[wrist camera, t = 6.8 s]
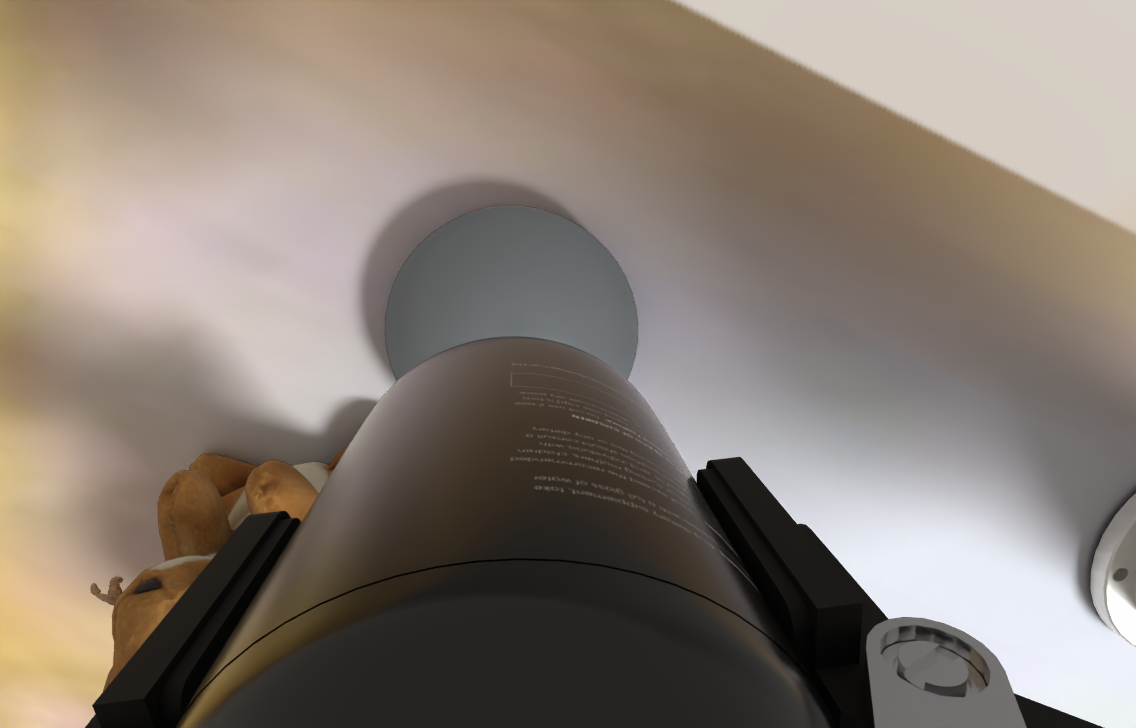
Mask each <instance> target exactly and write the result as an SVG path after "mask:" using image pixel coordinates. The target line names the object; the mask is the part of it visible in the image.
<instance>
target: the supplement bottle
mask: <svg viewBox="0 0 1136 728" xmlns="http://www.w3.org/2000/svg"><path fill="white" fill-rule="evenodd" d="M174 728H838V727H837V725H836V723H835V721H834V718H833V716H832V714H831V713H830V711H829V709H828V707H827V705H826V703H825V701H824V699H823V697H822V695H821V694H820V692H819V690H818V688H817V687H816V685H815V683H814V681H813V680H812V678H811V676H810V674H809V673H808V671H807V669H806V668H805V666H804V664H803V663H802V661H801V659H800V657H799V656H798V654H797V652H796V651H795V649H794V647H793V646H792V644H791V642H790V640H789V639H788V637H787V635H786V634H785V632H784V630H783V629H782V627H781V625H780V623H779V622H778V620H777V618H776V617H775V615H774V613H773V612H772V610H771V608H770V607H769V605H768V603H767V601H766V600H765V598H764V596H763V595H762V593H761V591H760V590H759V588H758V586H757V585H756V583H755V581H754V579H753V578H752V576H751V574H750V573H749V571H748V569H747V568H746V566H745V564H744V563H743V561H742V559H741V557H740V556H739V554H738V552H737V551H736V549H735V547H734V546H733V544H732V542H731V540H730V539H729V537H728V535H727V534H726V532H725V530H724V529H723V527H722V525H721V524H720V522H719V520H718V518H717V517H716V515H715V513H714V512H713V510H712V508H711V507H710V505H709V503H708V502H707V500H706V498H705V496H704V495H703V493H702V491H701V490H700V488H699V486H698V485H697V483H696V481H695V480H694V478H693V476H692V474H691V473H690V471H689V469H688V468H687V466H686V464H685V463H684V461H683V459H682V457H681V456H680V454H679V452H678V451H677V449H676V447H675V446H674V444H673V442H672V441H671V439H670V437H669V435H668V434H667V432H666V430H665V429H664V427H663V426H662V424H661V423H660V421H659V420H658V418H657V416H656V415H655V413H654V412H653V410H652V409H651V407H650V406H649V405H648V403H647V402H646V400H645V399H644V398H643V397H642V395H641V394H640V393H639V392H638V391H637V390H636V388H635V387H634V386H633V385H632V384H631V383H630V382H629V381H628V380H627V379H626V378H624V377H623V376H622V375H621V374H620V373H619V372H617V371H616V370H615V369H613V368H612V367H611V366H610V365H608V364H606V363H605V362H603V361H602V360H600V359H598V358H597V357H595V356H593V355H591V354H589V353H587V352H585V351H583V350H580V349H578V348H575V347H572V346H570V345H567V344H563V343H560V342H556V341H552V340H547V339H541V338H535V337H522V336H506V337H493V338H485V339H480V340H476V341H471V342H467V343H464V344H461V345H457V346H454V347H451V348H449V349H447V350H444V351H442V352H440V353H438V354H435V355H434V356H432V357H430V358H428V359H426V360H425V361H423V362H421V363H420V364H418V365H417V366H415V367H414V368H413V369H411V370H410V371H408V372H407V373H406V374H405V375H404V376H402V377H401V378H400V379H399V380H398V381H397V382H396V383H395V384H394V385H393V386H392V387H391V388H390V389H389V390H388V391H387V392H386V393H385V394H384V395H383V396H382V398H381V399H380V400H379V401H378V403H377V404H376V405H375V407H374V408H373V409H372V411H371V412H370V414H369V415H368V417H367V418H366V420H365V421H364V423H363V424H362V425H361V427H360V428H359V430H358V432H357V433H356V435H355V436H354V438H353V440H352V441H351V443H350V444H349V446H348V448H347V449H346V451H345V453H344V454H343V456H342V457H341V459H340V461H339V462H338V464H337V465H336V467H335V469H334V470H333V472H332V473H331V475H330V477H329V478H328V480H327V481H326V483H325V485H324V486H323V488H322V489H321V491H320V493H319V494H318V496H317V498H316V499H315V501H314V502H313V504H312V506H311V507H310V509H309V510H308V512H307V514H306V515H305V517H304V518H303V520H302V522H301V523H300V525H299V526H298V528H297V530H296V531H295V533H294V534H293V536H292V538H291V539H290V541H289V543H288V544H287V546H286V547H285V549H284V551H283V552H282V554H281V555H280V557H279V559H278V560H277V562H276V563H275V565H274V567H273V568H272V570H271V571H270V573H269V575H268V576H267V578H266V579H265V581H264V583H263V584H262V586H261V588H260V589H259V591H258V592H257V594H256V596H255V597H254V599H253V600H252V602H251V604H250V605H249V607H248V608H247V610H246V612H245V613H244V615H243V616H242V618H241V620H240V621H239V623H238V624H237V626H236V628H235V629H234V631H233V633H232V634H231V636H230V637H229V639H228V641H227V642H226V644H225V645H224V647H223V649H222V650H221V652H220V653H219V655H218V657H217V658H216V660H215V662H214V663H213V665H212V666H211V668H210V670H209V671H208V673H207V674H206V676H205V678H204V679H203V681H202V682H201V684H200V686H199V687H198V689H197V691H196V692H195V694H194V695H193V697H192V699H191V700H190V702H189V704H188V705H187V707H186V709H185V710H184V712H183V714H182V715H181V717H180V719H179V720H178V722H177V724H176V725H175V727H174Z"/></svg>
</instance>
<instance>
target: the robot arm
mask: <svg viewBox="0 0 1136 728" xmlns="http://www.w3.org/2000/svg"><path fill="white" fill-rule="evenodd" d="M697 485H698V486H699V488H700V490H701V491H702V493H703V495H704V496H705V498H706V500H707V502H708V503H709V505H710V507H711V508H712V510H713V512H714V513H715V515H716V517H717V518H718V520H719V522H720V524H721V525H722V527H723V529H724V530H725V532H726V534H727V535H728V537H729V539H730V540H731V542H732V544H733V546H734V547H735V549H736V551H737V552H738V554H739V556H740V557H741V559H742V561H743V563H744V564H745V566H746V568H747V569H748V571H749V573H750V574H751V576H752V578H753V579H754V581H755V583H756V585H757V586H758V588H759V590H760V591H761V593H762V595H763V596H764V598H765V600H766V601H767V603H768V605H769V607H770V608H771V610H772V612H773V613H774V615H775V617H776V618H777V620H778V622H779V623H780V625H781V627H782V629H783V630H784V632H785V634H786V635H787V637H788V639H789V640H790V642H791V644H792V646H793V647H794V649H795V651H796V652H797V654H798V656H799V657H800V659H801V661H802V663H803V664H804V666H805V668H806V669H807V671H808V673H809V674H810V676H811V678H812V680H813V681H814V683H815V685H816V687H817V688H818V690H819V692H820V694H821V695H822V697H823V699H824V701H825V703H826V705H827V707H828V709H829V711H830V713H831V714H832V716H833V718H834V721H835V723H836V725H837V727H838V728H1103V727H1101V726H1098V725H1096V724H1093V723H1090V722H1088V721H1085V720H1082V719H1080V718H1077V717H1075V716H1072V715H1069V714H1067V713H1064V712H1061V711H1059V710H1056V709H1054V708H1051V707H1048V706H1046V705H1043V704H1040V703H1038V702H1035V701H1033V700H1030V699H1027V698H1025V697H1022V696H1019V695H1017V694H1014V693H1013V690H1012V688H1011V685H1010V683H1009V680H1008V677H1007V675H1006V672H1005V670H1004V668H1003V667H1002V665H1001V664H1000V662H999V660H998V659H997V657H996V656H995V655H994V654H993V653H992V652H991V651H990V650H989V649H988V648H987V647H986V646H985V645H983V644H982V643H981V642H979V641H978V640H976V639H975V638H973V637H972V636H970V635H968V634H967V633H965V632H963V631H961V630H959V629H956V628H954V627H952V626H949V625H947V624H944V623H941V622H937V621H933V620H929V619H924V618H912V617H901V618H894V619H888V618H887V617H886V616H885V614H884V613H883V612H882V611H881V610H880V609H879V607H878V606H877V605H876V604H875V603H874V602H873V601H872V599H871V598H870V597H869V596H868V595H867V594H866V592H865V591H864V590H863V589H862V588H861V587H860V585H859V584H858V583H857V582H856V581H855V580H854V579H853V577H852V576H851V575H850V574H849V573H848V572H847V570H846V569H845V568H844V567H843V566H842V565H841V563H840V562H839V561H838V560H837V559H836V558H835V557H834V555H833V554H832V553H831V552H830V551H829V550H828V548H827V547H826V546H825V545H824V544H823V543H822V541H821V540H820V539H819V538H818V537H817V536H816V535H815V533H814V532H813V531H812V530H811V529H810V528H809V527H808V526H806V525H805V524H797V523H796V522H795V521H794V520H793V519H792V518H791V516H790V515H789V514H788V513H787V512H786V510H785V509H784V508H783V507H782V506H781V504H780V503H779V502H778V501H777V500H776V498H775V497H774V496H773V495H772V494H771V492H770V491H769V490H768V489H767V488H766V486H765V485H764V484H763V483H762V482H761V480H760V479H759V478H758V477H757V476H756V474H755V473H754V472H753V471H752V470H751V468H750V467H749V466H748V465H747V464H746V462H745V461H744V460H743V459H742V458H741V457H735V458H727V459H718V460H710V461H708V462H707V466H706V469H702V470H698V472H697ZM300 523H301V521H300V519H298V518H291V517H290V515H289V514H288V512H286V511H278V512H269V513H261V514H252V515H249V516H247V517H246V518H245V519H244V521H243V522H242V523H241V524H240V526H239V527H238V528H237V529H236V530H235V532H234V533H233V534H232V535H231V537H230V538H229V539H228V540H227V541H226V543H225V544H224V545H223V546H222V548H221V549H220V550H219V551H218V552H217V554H216V555H215V556H214V557H213V559H212V560H211V561H210V562H209V563H208V565H207V566H206V567H205V568H204V570H203V571H202V572H201V573H200V574H199V576H198V577H197V578H196V579H195V581H194V582H193V583H192V584H191V585H190V587H189V588H188V589H187V590H186V592H185V593H184V594H183V595H182V596H181V598H180V599H179V600H178V601H177V603H176V604H175V605H174V606H173V607H172V609H171V610H170V611H169V612H168V614H167V615H166V616H165V617H164V618H163V620H162V621H161V622H160V623H159V625H158V626H157V627H156V628H155V629H154V631H153V632H152V633H151V634H150V636H149V637H148V638H147V639H146V640H145V642H144V643H143V644H142V645H141V647H140V648H139V649H138V650H137V651H136V653H135V654H134V655H133V656H132V658H131V659H130V660H129V661H128V662H127V664H126V665H125V666H124V667H123V669H122V670H121V671H120V672H119V673H118V675H117V676H116V677H115V678H114V680H113V681H112V682H111V683H110V684H109V686H108V687H107V688H106V689H105V691H104V692H103V693H102V694H101V695H100V697H99V698H98V699H97V700H96V702H95V703H94V704H93V705H92V706H93V708H94V711H95V713H96V714H95V716H94V717H93V718H92V720H91V721H90V722H89V723H88V725H87V726H86V727H85V728H174V727H175V725H176V724H177V722H178V720H179V719H180V717H181V715H182V714H183V712H184V710H185V709H186V707H187V705H188V704H189V702H190V700H191V699H192V697H193V695H194V694H195V692H196V691H197V689H198V687H199V686H200V684H201V682H202V681H203V679H204V678H205V676H206V674H207V673H208V671H209V670H210V668H211V666H212V665H213V663H214V662H215V660H216V658H217V657H218V655H219V653H220V652H221V650H222V649H223V647H224V645H225V644H226V642H227V641H228V639H229V637H230V636H231V634H232V633H233V631H234V629H235V628H236V626H237V624H238V623H239V621H240V620H241V618H242V616H243V615H244V613H245V612H246V610H247V608H248V607H249V605H250V604H251V602H252V600H253V599H254V597H255V596H256V594H257V592H258V591H259V589H260V588H261V586H262V584H263V583H264V581H265V579H266V578H267V576H268V575H269V573H270V571H271V570H272V568H273V567H274V565H275V563H276V562H277V560H278V559H279V557H280V555H281V554H282V552H283V551H284V549H285V547H286V546H287V544H288V543H289V541H290V539H291V538H292V536H293V534H294V533H295V531H296V530H297V528H298V526H299V525H300ZM1091 594H1092V598H1093V603H1094V606H1095V608H1096V610H1097V612H1098V614H1099V616H1100V618H1101V619H1102V620H1103V621H1104V622H1105V624H1106V625H1107V626H1108V627H1109V628H1110V629H1111V630H1112V631H1114V632H1115V633H1116V634H1118V635H1119V636H1121V637H1122V638H1123V639H1125V640H1126V641H1127V642H1129V643H1130V644H1132V645H1134V646H1136V493H1135V494H1134V495H1133V496H1132V497H1131V498H1130V499H1129V500H1128V501H1127V502H1126V503H1125V504H1124V505H1123V507H1122V508H1121V509H1120V510H1119V511H1118V512H1117V513H1116V515H1115V516H1114V518H1113V519H1112V521H1111V522H1110V524H1109V525H1108V527H1107V528H1106V530H1105V532H1104V533H1103V535H1102V538H1101V540H1100V542H1099V545H1098V547H1097V549H1096V551H1095V555H1094V560H1093V564H1092V568H1091Z"/></svg>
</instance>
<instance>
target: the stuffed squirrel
mask: <svg viewBox="0 0 1136 728" xmlns="http://www.w3.org/2000/svg"><path fill="white" fill-rule="evenodd" d="M348 446H349V444H348V445H347V446H346V447H345V448H344V449H343V451H342V452H341V453H340V454H339V455H337V456H336V458H335V459H334V460H333V461H332V462H331V463H330V465H327V464H324V463H319V462H308V463H303V464H297V465H293V466H291V465H289V464H287V463H284V462H282V461H279V460H270V461H266V462H264V463H263V464H262V465H260V466H255V465H252V464H248V463H244V462H242V461H240V460H235V459H231V458H228V457H224V456H220V455H214V454H211V453H204V454H202V455H201V456H200V457H198V458H197V460H196V461H195V462H194V463H192V464H191V465H190V467H189V471H186V470H182V471H179V472H177V473H175V474H174V475H173V476H172V477H171V478H170V479H169V480H168V482H167V483H166V485H165V486H164V488H163V490H162V492H161V495H160V497H159V501H158V524H159V532H160V536H161V540H162V546H163V551H164V555H165V560H166V561H165V562H163V563H160V564H158V565H156V566H154V567H152V568H150V569H147V570H144V571H143V572H142V573H141V574H140V575H139V576H138V577H137V578H136V579H135V580H134V581H133V582H132V583H131V584H130V585H129V586H128V587H127V588H126V590H125V591H124V592H122V589H121V588H120V586H119V583H121V582H122V581H123V579H122V578H121V577H114V578H112V579H111V581H110V585H109V587H110V588H109V591H108V595H106V594H100V592H101V590H100V589H99V588H98V587H97V585H96V584H95V583H93V584H92V585H91V589H90V590H91V593H92V594H93V595H95V596H96V597H98V598H99V599H101V600H102V601H105V602H107V603H109V604H110V605H114V609H113V614H112V635H113V639H114V658H113V667H112V669H111V670H110V672H109V674H108V677H107V680H106V683H105V686H104V690H103V692H104V691H105V689H106V688H107V687H108V686H109V684H110V683H111V682H112V681H113V680H114V678H115V677H116V676H117V675H118V673H119V672H120V671H121V670H122V669H123V667H124V666H125V665H126V664H127V662H128V661H129V660H130V659H131V658H132V656H133V655H134V654H135V653H136V651H137V650H138V649H139V648H140V647H141V645H142V644H143V643H144V642H145V640H146V639H147V638H148V637H149V636H150V634H151V633H152V632H153V631H154V629H155V628H156V627H157V626H158V625H159V623H160V622H161V621H162V620H163V618H164V617H165V616H166V615H167V614H168V612H169V611H170V610H171V609H172V607H173V606H174V605H175V604H176V603H177V601H178V600H179V599H180V598H181V596H182V595H183V594H184V593H185V592H186V590H187V589H188V588H189V587H190V585H191V584H192V583H193V582H194V581H195V579H196V578H197V577H198V576H199V574H200V573H201V572H202V571H203V570H204V568H205V567H206V566H207V565H208V563H209V562H210V561H211V560H212V559H213V557H214V556H215V555H216V554H217V552H218V551H219V550H220V549H221V548H222V546H223V545H224V544H225V543H226V541H227V540H228V539H229V538H230V537H231V535H232V534H233V533H234V532H235V530H236V529H237V528H238V527H239V526H240V524H241V523H242V522H243V521H244V519H245V518H246V517H247V516H249V515H252V514H261V513H269V512H278V511H286V512H288V514H289V515H290V517H291V518H298V519H300V521H301V522H302V520H303V518H304V517H305V515H306V514H307V512H308V510H309V509H310V507H311V506H312V504H313V502H314V501H315V499H316V498H317V496H318V494H319V493H320V491H321V489H322V488H323V486H324V485H325V483H326V481H327V480H328V478H329V477H330V475H331V473H332V472H333V470H334V469H335V467H336V465H337V464H338V462H339V461H340V459H341V457H342V456H343V454H344V453H345V451H346V449H347V448H348Z"/></svg>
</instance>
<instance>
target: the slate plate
mask: <svg viewBox="0 0 1136 728" xmlns="http://www.w3.org/2000/svg"><path fill="white" fill-rule="evenodd" d="M506 336H522V337H535V338H541V339H547V340H552V341H556V342H560V343H563V344H567V345H570V346H572V347H575V348H578V349H580V350H583V351H585V352H587V353H589V354H591V355H593V356H595V357H597V358H598V359H600V360H602V361H603V362H605V363H606V364H608V365H610V366H611V367H612V368H613V369H615V370H616V371H617V372H619V373H620V374H621V375H622V376H623V377H624V378H626V379H628V377H629V375H630V372H631V370H632V366H633V363H634V359H635V356H636V349H637V342H638V319H637V310H636V305H635V301H634V297H633V294H632V291H631V288H630V286H629V283H628V281H627V278H626V276H625V275H624V273H623V271H622V269H621V268H620V266H619V264H618V263H617V261H616V260H615V259H614V257H613V256H612V255H611V253H610V252H609V251H608V250H607V249H606V248H605V247H604V246H603V245H602V244H601V243H600V242H599V241H598V240H597V239H596V238H595V237H594V236H593V235H591V234H590V233H589V232H587V231H586V230H585V229H583V228H582V227H580V226H579V225H577V224H575V223H573V222H571V221H570V220H568V219H566V218H564V217H562V216H559V215H557V214H554V213H552V212H549V211H546V210H542V209H538V208H533V207H525V206H496V207H490V208H484V209H480V210H477V211H474V212H470V213H467V214H465V215H463V216H461V217H459V218H456V219H454V220H452V221H450V222H448V223H447V224H445V225H444V226H442V227H440V228H439V229H437V230H436V231H434V232H433V233H432V234H431V235H430V236H428V237H427V238H426V239H425V240H424V241H423V242H421V243H420V245H419V246H418V247H417V248H416V249H415V250H414V251H413V252H412V254H411V255H410V256H409V257H408V259H407V260H406V262H405V263H404V265H403V266H402V268H401V269H400V272H399V274H398V276H397V278H396V280H395V282H394V284H393V287H392V290H391V293H390V296H389V300H388V304H387V310H386V316H385V339H386V348H387V353H388V357H389V361H390V365H391V368H392V370H393V373H394V375H395V378H396V380H397V381H398V380H399V379H400V378H401V377H402V376H404V375H405V374H406V373H407V372H408V371H410V370H411V369H413V368H414V367H415V366H417V365H418V364H420V363H421V362H423V361H425V360H426V359H428V358H430V357H432V356H434V355H435V354H438V353H440V352H442V351H444V350H447V349H449V348H451V347H454V346H457V345H461V344H464V343H467V342H471V341H476V340H480V339H485V338H493V337H506Z"/></svg>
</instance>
